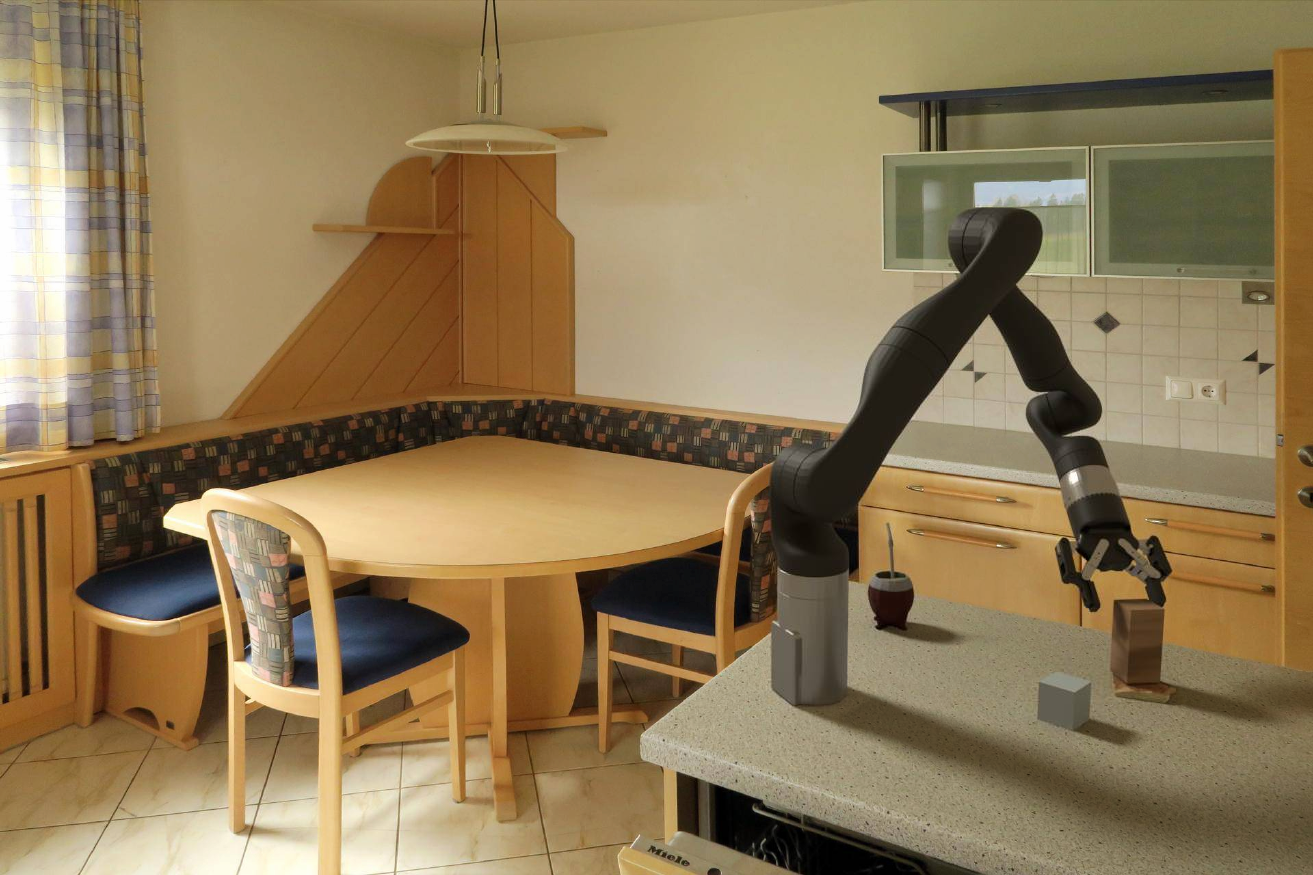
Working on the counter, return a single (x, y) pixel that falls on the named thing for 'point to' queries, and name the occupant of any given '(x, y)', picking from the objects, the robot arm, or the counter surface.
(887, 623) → the mate gourd
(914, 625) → the counter surface
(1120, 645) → the walnut block
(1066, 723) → the grey-blue block
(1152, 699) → the shard
